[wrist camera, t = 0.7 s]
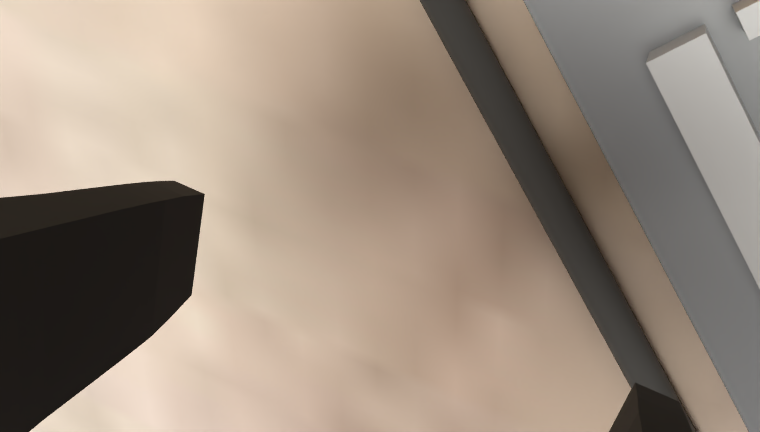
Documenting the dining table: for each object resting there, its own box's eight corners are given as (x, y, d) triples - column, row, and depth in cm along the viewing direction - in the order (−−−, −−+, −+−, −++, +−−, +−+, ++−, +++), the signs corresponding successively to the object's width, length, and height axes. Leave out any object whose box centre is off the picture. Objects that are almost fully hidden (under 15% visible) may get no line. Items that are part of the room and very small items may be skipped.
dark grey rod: (787, 593, 20) (792, 623, 20) (752, 596, 21) (755, 625, 20) (445, -48, 18) (432, -47, 17) (413, -26, 18) (400, -24, 17)
